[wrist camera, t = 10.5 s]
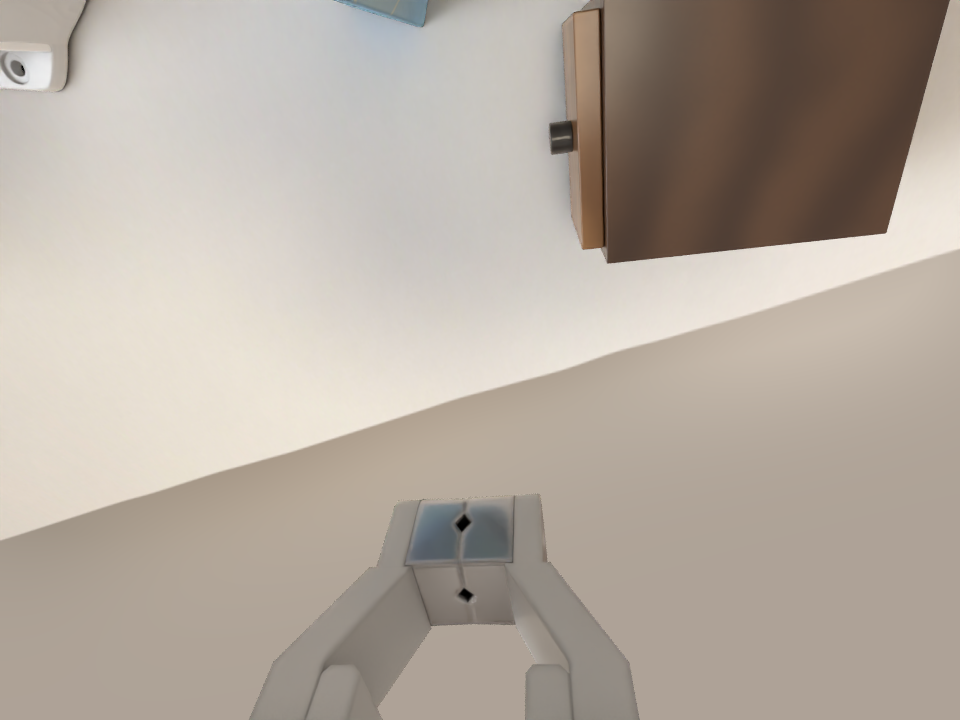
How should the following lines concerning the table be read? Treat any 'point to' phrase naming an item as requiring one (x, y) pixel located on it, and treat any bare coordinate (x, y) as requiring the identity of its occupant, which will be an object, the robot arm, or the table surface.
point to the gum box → (393, 9)
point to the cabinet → (756, 119)
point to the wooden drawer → (583, 125)
